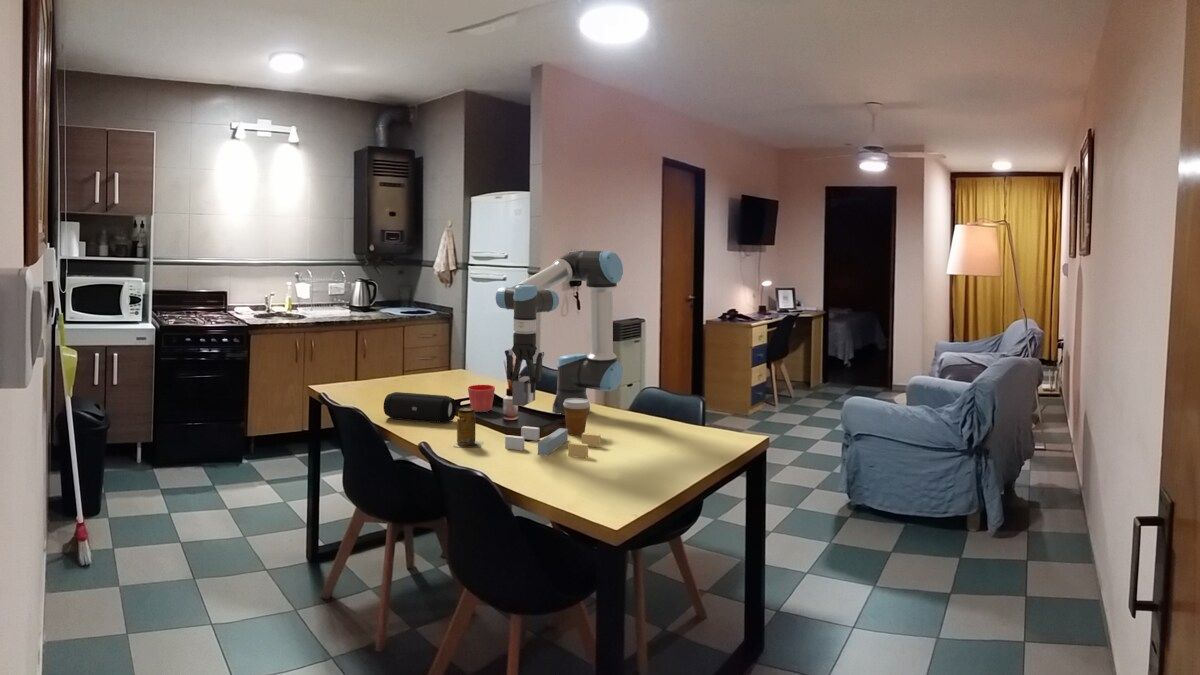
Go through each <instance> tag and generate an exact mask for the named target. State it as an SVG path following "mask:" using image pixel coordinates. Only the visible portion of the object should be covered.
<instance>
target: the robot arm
mask: <svg viewBox="0 0 1200 675" xmlns="http://www.w3.org/2000/svg"><path fill="white" fill-rule="evenodd" d="M623 273H624V268H623V262H622V260H621V258H620V256H619V255H618V254H617V253H615V252H613V251H608V250H585V249H584V250H581V249H580V250H576V251H573V252H572V251H571V252H569V253H567V254H565V255H563V256H560V257H559V258H557V259H555V260H554V261H553V262H552V263H551V265H550V266H547V267H546V268H544V269H543V270H541V271H538V272H537V273H535V274H533V275H531V276H529V277H528V278H527V279H524V280H522V281H521V282H519V283H517V284H515V285H514V286H511V287H508V286H504V287H500V288H498V289H497V291H496V293H495V303H496V306H498V308H501V309H504V310H508V311H509V310H511V311H512V310H513V335H512V336H513V341H512V342H513V344H512V347H511V348H509V349H506V350H504V355H505V356H506V357H505V358H506V379H507V380H510V381H511V382H512V385H511V386H512V387H511V388H512V391H513V381H514V380H516V379H519V378H520V371H521V367H522V362H523V360H524V361H525V363H526V366H527V372H528V376H529V378H530V382H529V383H528V403H529V404H530V403H533V402H534V401H533V393H534V392H535V393H536V390H537V389H536V387H537V386H536V385H537V383H539V382H540V381H542V376H543V374H542V370H543V359H544V356H545V352H544V351H540V350H538V348H537V333H536V331H537V313H539V314H540V313H550V312H553V311H555V310H556V309H557V308H558V307H559V304H560V298H559V295H558V293H557V292H556V291H555V290H553V288H556V287H557V286H559V285H560V284H566V283H569V282H572V281H582V282H586V288H587V289H588V291H590V292H589V293H590V294H589V296H590V300H589V302H590V306H589V307H590V308H589V310H590V312H589V313H590V352H589V353H588V354H586V353H576V354H575V353H574V354H573V353H571V354H565V355H561V356H560V357H559V358H558V360H557V367H556V368H557V385H556V386H557V387H556V388H557V389H556V395H555V398H554V400H553V404H552V409H551V411H552V412H553V413H554V412H555V413H554V414H557V413H561V414H565V408H564V405H563V403H564V400H565V399H569V398H582V399H587V400H588V401H589V398H588V395H587V389H590V390H596V391H601V392H612V391H615V390H616V389H617V388H618V387H619V385H620V383H621V381H622V378H623V370H624V369H623V365H622V363H620V361H617V360H618V359H617V355H616V353H614V345H613V344H614V343H613V342H614V341H613V340H614V339H613V338H614V334H613V333H614V332H613V331H614V328H613V327H614V325H613V324H614V322H613V321H614V320H613V318H614V314H613V313H614V312H613V310H614V295H613V294H614V291H615V289H616V288H617V283H620V281H621V280H622V278H623ZM513 354H514V355H515V362H514V358H513V357H514V356H513ZM534 357H536V360H535V362H536V363H535V364H534ZM513 366H514V367H513ZM534 366H535V367H534ZM589 413H591V405H590V406H589V407H588V414H589ZM561 414H560V415H561Z"/></svg>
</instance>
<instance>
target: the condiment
mask: <svg viewBox="0 0 1200 675" xmlns="http://www.w3.org/2000/svg"><path fill="white" fill-rule="evenodd" d="M457 413H458V415H457V417H456V421H457V422H456V423H457V424H456V444H454V446H453V447H454V448H455V447H456V448H480V447H482V444H483V443H484V441H476V434H477V433H476V416H475V414H476V413H475V412H474V409H472V408H471V407H462V408H459V409H458V412H457Z"/></svg>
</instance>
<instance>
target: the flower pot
mask: <svg viewBox="0 0 1200 675" xmlns="http://www.w3.org/2000/svg"><path fill="white" fill-rule="evenodd" d="M467 391H468V392H467V393H468V398H469V404H470V408H472V409H474V410H475V411H489V410H491V411H492V408H493V403H494V402H493V401H494V397H495V391H496V387H495V385H491V384H473V385H470V386H468V387H467Z"/></svg>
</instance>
